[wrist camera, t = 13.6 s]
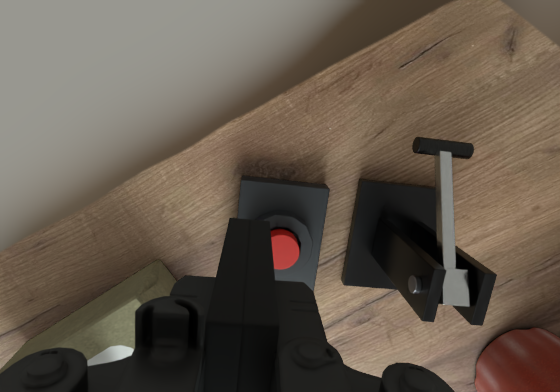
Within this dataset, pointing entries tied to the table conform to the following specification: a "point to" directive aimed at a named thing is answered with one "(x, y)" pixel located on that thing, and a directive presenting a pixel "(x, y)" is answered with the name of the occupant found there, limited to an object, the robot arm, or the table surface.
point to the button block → (289, 218)
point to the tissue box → (104, 320)
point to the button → (284, 248)
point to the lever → (447, 215)
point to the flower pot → (520, 363)
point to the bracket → (407, 250)
